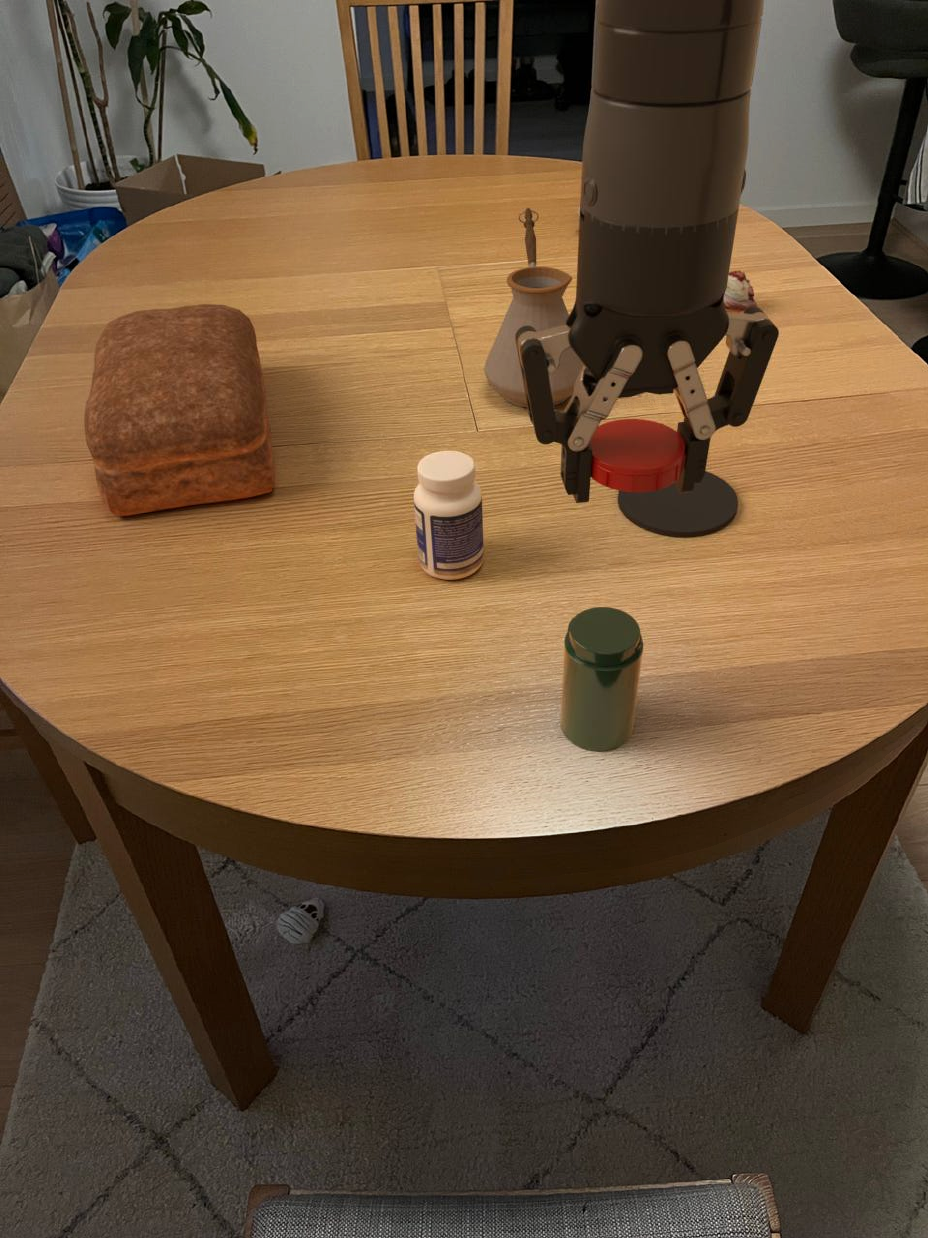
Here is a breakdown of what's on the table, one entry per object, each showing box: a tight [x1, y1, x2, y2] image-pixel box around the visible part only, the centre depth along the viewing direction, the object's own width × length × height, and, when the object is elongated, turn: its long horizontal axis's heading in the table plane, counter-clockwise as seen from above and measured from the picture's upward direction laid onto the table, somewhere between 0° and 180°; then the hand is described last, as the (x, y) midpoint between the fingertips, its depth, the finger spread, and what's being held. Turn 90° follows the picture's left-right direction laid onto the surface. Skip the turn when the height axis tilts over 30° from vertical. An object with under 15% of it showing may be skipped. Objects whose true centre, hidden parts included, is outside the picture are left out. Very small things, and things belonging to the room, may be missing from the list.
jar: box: [559, 606, 644, 752], centre depth 64 cm, size 5×5×9 cm
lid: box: [589, 418, 686, 492], centre depth 54 cm, size 6×6×2 cm
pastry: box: [724, 269, 758, 313], centre depth 117 cm, size 8×8×5 cm
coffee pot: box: [483, 207, 584, 408], centre depth 103 cm, size 21×12×15 cm, turn 1°
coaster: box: [617, 470, 739, 538], centre depth 87 cm, size 11×11×1 cm
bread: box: [83, 303, 275, 518], centre depth 95 cm, size 17×29×11 cm, turn 12°
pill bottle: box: [413, 450, 485, 581], centre depth 78 cm, size 6×6×10 cm
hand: (630, 489), depth 55 cm, fingers closed on lid, 5 cm apart
